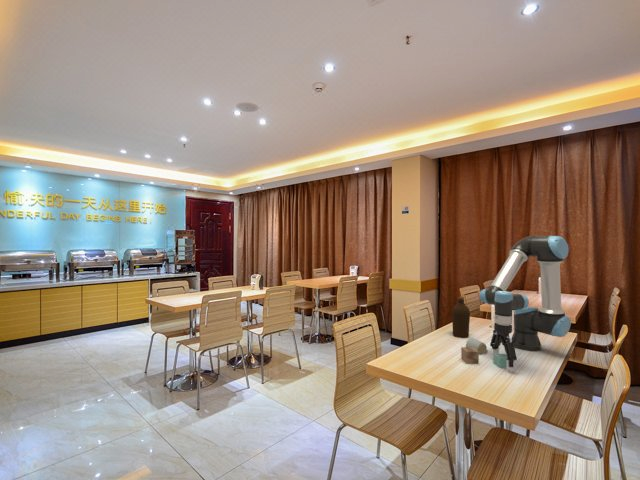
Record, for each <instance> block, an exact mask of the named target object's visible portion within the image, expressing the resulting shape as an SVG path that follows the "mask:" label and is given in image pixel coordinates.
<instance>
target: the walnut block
mask: <svg viewBox="0 0 640 480" xmlns="http://www.w3.org/2000/svg"><path fill="white" fill-rule="evenodd" d="M460 349H461V351H460V356H461V358H460V360H461V359H462V360H463V361H464V362H465V363H466V364H465V363H464V362H463V361H462V360H461V361H462V362H463V363H464V364H465V365H480V363H479V362H480V358H479V357H480V356H479V355H480V354H479V352H478V351H477V350H476V349H475V348H472V347H466V346H464V347H463V346H461V348H460Z"/></svg>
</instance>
